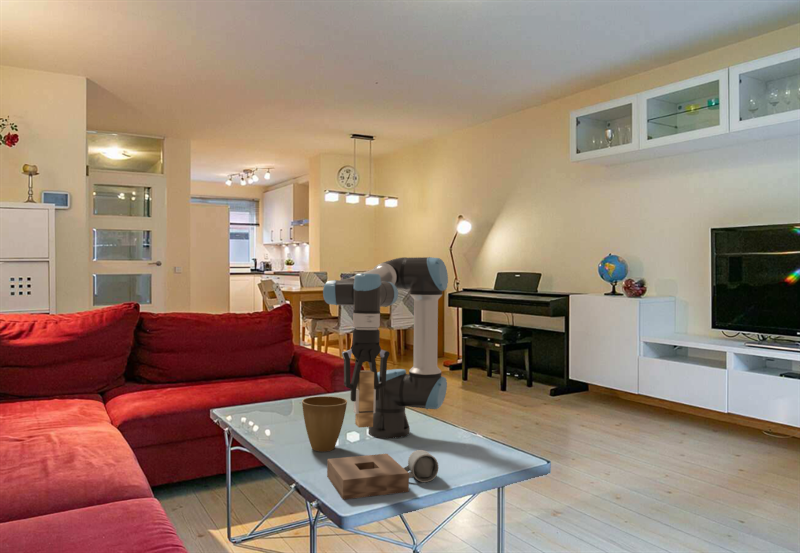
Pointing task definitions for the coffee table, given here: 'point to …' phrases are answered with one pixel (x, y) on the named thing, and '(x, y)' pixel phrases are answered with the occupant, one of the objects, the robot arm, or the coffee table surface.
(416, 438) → the coffee table surface
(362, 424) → the oak peg
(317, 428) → the plant pot
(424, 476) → the ceramic mug
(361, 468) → the walnut socket block
